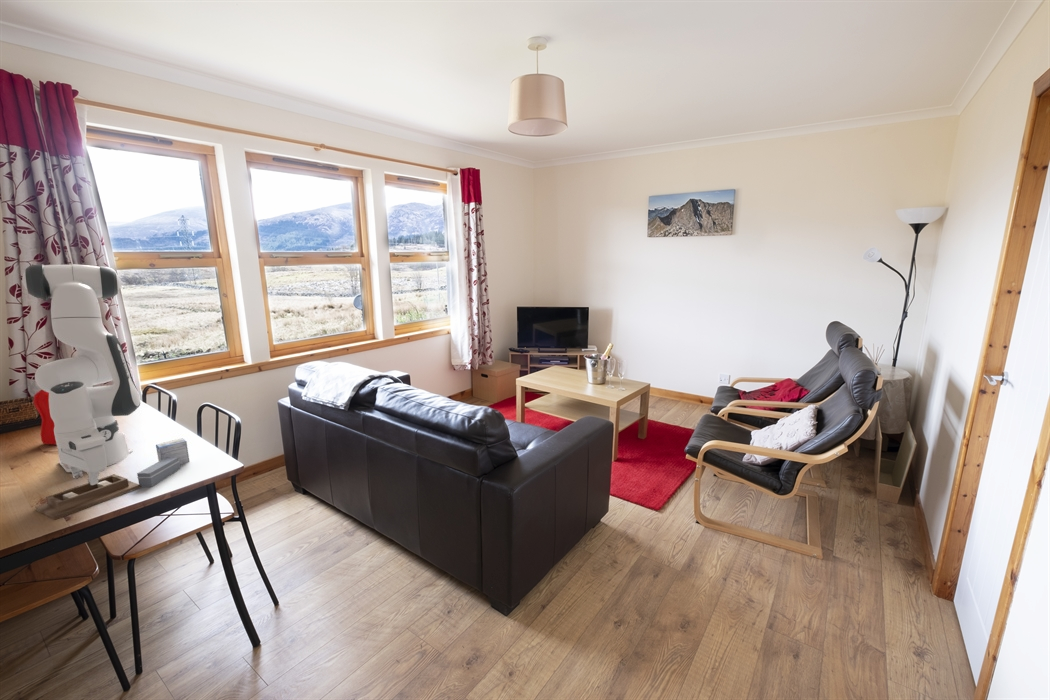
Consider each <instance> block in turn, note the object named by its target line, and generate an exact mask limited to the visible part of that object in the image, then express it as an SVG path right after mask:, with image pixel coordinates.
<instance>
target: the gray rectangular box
mask: <svg viewBox="0 0 1050 700" xmlns="http://www.w3.org/2000/svg"><path fill="white" fill-rule="evenodd" d="M179 470H181V464H179V458H178V457H167V458H165V459H163V460H161V461H157V462H155V463H154V464H152V465H150V466H148V467H146V468H145V469H143V470H141V471H139V472H136V474H137V481H138V484H139V485H140V488H153V487H155V486H156V485H158V484H159V483H160V482H161V483H162V481H164V480H165V479H167V478H168V477H170V476H172V475H173V474H174V473H176V472H178V471H179Z"/></svg>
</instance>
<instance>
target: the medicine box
mask: <svg viewBox="0 0 1050 700" xmlns="http://www.w3.org/2000/svg"><path fill="white" fill-rule="evenodd" d="M155 448H156V454H157V459H158V461H157V462H159V461H161V460H163V459H165V458H167V457H178V458H179V464H180V465H183V464H186V463H189V462H190V455H189V448H188V441H187V440H186V439H184V438H177V439H174V440H169V441H165V442H161V443H157V444H156V445H155Z"/></svg>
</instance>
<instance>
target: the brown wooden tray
mask: <svg viewBox="0 0 1050 700" xmlns="http://www.w3.org/2000/svg"><path fill="white" fill-rule="evenodd" d="M140 488H141V487H140V485H139V483H136V482H133V481H131V480H128V478H126V477H124V476H121V475H118V474H115V473H114V474H110V475H107V476H104V477H102V478H98V483H97V484H95V485H90V484H88V482H87V483H84V484H81V485H78V486H74V487H73V488H70V489H67V490H66V489H65V490H63V491H60V492H57V493H54V494H51V495H49V496H45V500H46V502H45V503H43V504H39V505H37V506H34V508H35V511H37V512H39V513H41V514H43V515H45V516H47V517H49V518H51V519H53V520H57V519H61V518H63V517H66V516H69V515H70V514H71V515H72V514H73V513H76V512H79V511H83V510H84V509H88V508H90V507H93V506H96V505H98V504H100V503H103V502H105V501H109V500H111V499H115V498H117V497H120V496H122V495H125V494H127V493H130V492H132V491H135V490H138V489H140Z"/></svg>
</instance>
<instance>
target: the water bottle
mask: <svg viewBox="0 0 1050 700" xmlns="http://www.w3.org/2000/svg"><path fill="white" fill-rule="evenodd" d="M33 405H34V407H35V409H36V410H37V411H38V414H39V415H40V418H41V424H40V425H41V427H40V440H41V443H42V444H44V445H54V446H57V444H56V439H55V434H54V426H55V425H54V421H53V420H52V418H51V415H50V409H49V393H48V392H46V391H44V390H42V389H40V390H39V391H37V392H36V393H35V394H34V396H33Z"/></svg>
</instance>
